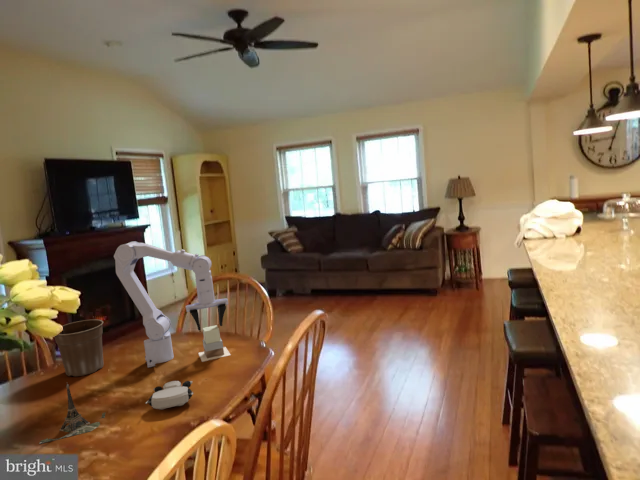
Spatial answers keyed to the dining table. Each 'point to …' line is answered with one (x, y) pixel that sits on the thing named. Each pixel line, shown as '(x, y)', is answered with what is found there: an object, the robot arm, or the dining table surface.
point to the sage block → (211, 334)
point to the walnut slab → (214, 352)
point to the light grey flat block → (213, 345)
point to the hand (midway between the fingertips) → (210, 327)
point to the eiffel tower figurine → (74, 421)
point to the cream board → (204, 358)
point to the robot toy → (170, 395)
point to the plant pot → (81, 347)
